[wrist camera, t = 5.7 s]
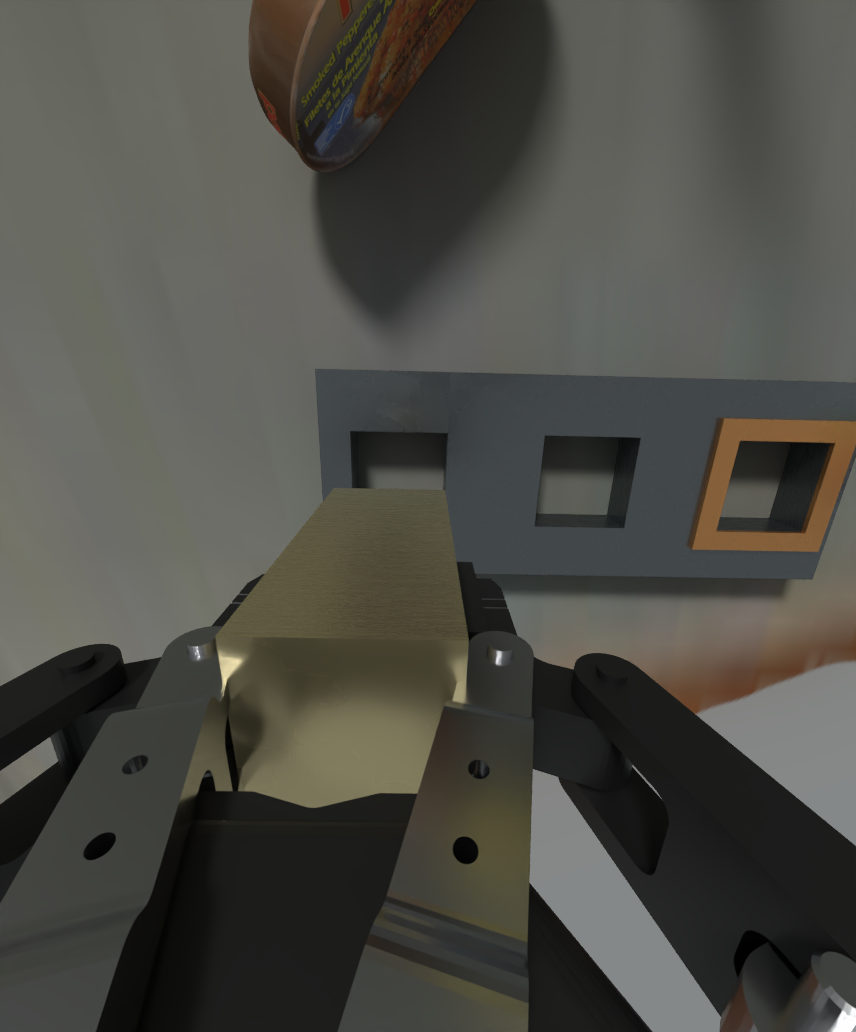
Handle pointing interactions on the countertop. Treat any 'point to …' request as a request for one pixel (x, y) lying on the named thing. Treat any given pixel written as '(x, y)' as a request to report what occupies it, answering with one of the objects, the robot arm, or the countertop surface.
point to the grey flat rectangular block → (638, 472)
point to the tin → (342, 67)
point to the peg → (348, 650)
